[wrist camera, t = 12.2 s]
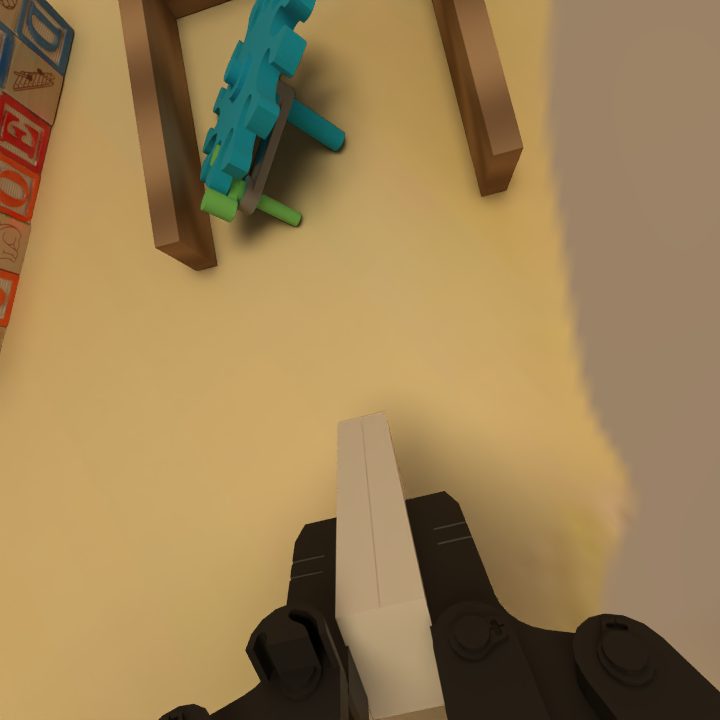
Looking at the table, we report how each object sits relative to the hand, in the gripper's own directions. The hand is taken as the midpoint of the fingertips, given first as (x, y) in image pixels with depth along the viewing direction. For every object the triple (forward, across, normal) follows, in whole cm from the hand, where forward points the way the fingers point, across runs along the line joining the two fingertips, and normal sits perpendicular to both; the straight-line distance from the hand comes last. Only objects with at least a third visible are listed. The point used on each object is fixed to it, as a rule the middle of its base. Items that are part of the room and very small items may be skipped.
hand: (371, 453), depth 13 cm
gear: (+14, -2, +11) cm, 18 cm away
